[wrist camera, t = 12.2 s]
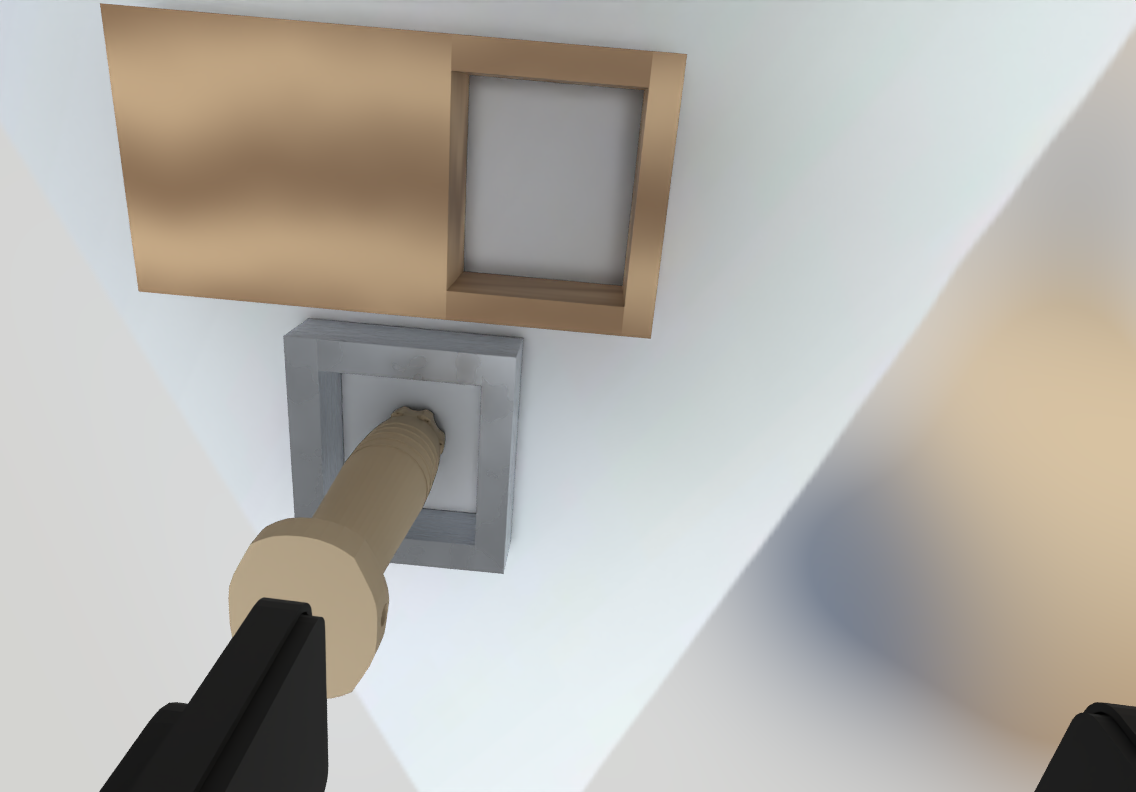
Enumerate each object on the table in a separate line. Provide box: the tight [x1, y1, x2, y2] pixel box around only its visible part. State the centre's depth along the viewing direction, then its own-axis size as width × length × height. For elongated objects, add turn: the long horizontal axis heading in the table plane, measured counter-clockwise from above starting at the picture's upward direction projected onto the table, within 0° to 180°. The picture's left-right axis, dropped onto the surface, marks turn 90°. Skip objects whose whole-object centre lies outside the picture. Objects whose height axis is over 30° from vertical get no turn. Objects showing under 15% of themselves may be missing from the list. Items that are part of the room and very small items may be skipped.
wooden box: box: [100, 3, 687, 339], centre depth 31 cm, size 11×22×4 cm, turn 85°
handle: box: [229, 406, 445, 699], centre depth 31 cm, size 5×6×15 cm
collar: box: [283, 318, 523, 574], centre depth 37 cm, size 12×10×3 cm
